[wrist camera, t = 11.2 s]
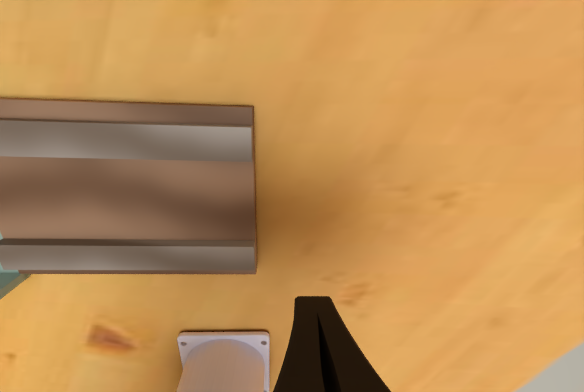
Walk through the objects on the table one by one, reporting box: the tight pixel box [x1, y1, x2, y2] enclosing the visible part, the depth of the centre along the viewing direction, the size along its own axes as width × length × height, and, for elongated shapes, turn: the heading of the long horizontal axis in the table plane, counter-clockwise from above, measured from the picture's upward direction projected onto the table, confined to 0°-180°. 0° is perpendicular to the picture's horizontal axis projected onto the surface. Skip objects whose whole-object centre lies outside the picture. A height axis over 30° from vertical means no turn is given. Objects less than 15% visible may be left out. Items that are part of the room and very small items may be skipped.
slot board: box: [0, 98, 257, 274], centre depth 17 cm, size 12×17×2 cm
